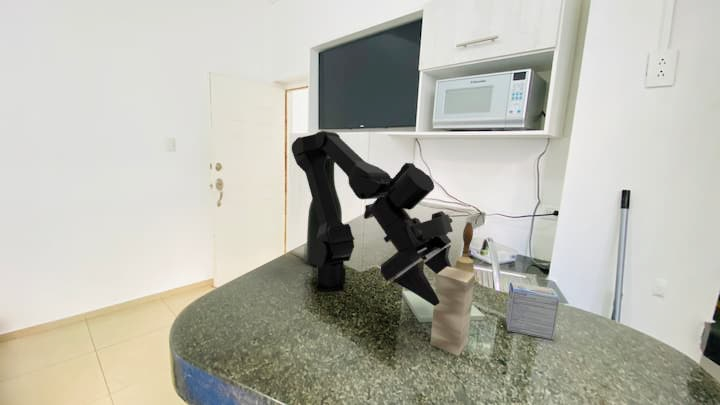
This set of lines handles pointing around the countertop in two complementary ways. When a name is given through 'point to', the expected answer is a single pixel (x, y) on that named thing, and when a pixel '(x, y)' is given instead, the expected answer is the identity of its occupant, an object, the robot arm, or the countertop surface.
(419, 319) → the sage board
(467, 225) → the hand bell
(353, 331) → the countertop surface
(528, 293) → the medicine box
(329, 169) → the beer bottle
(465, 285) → the birch block
